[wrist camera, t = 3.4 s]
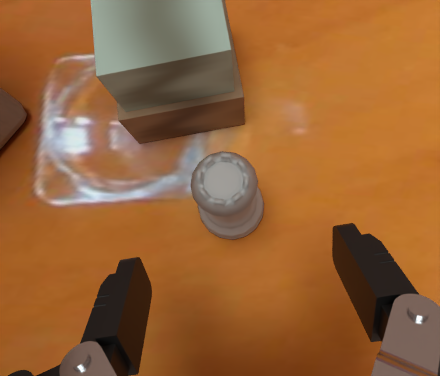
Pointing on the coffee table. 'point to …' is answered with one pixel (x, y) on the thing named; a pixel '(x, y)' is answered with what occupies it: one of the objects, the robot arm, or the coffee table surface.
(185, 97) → the tower base
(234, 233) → the rook chess piece
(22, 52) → the coffee table surface
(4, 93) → the block
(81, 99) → the coffee table surface
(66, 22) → the coffee table surface
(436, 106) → the coffee table surface
